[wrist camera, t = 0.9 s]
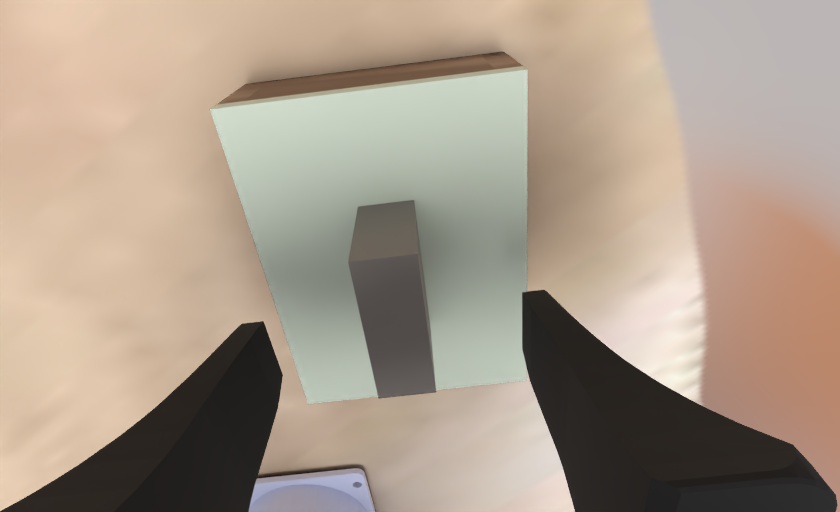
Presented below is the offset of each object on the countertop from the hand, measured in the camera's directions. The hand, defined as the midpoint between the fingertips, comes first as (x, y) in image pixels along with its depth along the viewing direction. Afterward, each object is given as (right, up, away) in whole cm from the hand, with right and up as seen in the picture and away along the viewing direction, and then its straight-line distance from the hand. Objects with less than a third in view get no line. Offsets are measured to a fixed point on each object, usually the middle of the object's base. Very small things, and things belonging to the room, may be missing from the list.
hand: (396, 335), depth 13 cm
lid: (0, +2, +4) cm, 4 cm away
